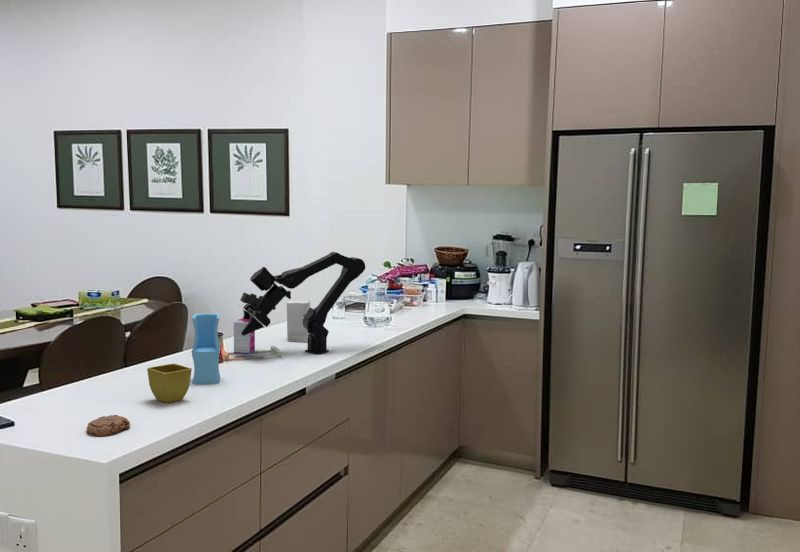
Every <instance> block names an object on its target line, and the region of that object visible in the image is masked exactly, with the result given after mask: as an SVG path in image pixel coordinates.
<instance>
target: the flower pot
mask: <svg viewBox="0 0 800 552" xmlns="http://www.w3.org/2000/svg"><path fill="white" fill-rule="evenodd" d="M146 371H147V376H148V377H147V378H148V384H149V387H150V391H151V393H152V394H153V396H154V397H155V399H156V400H158V401H160V402H163V403H168V404H169V403H172V402H177V401H181V400H183V399H184V398H185V396H186V394H187V393H188V390H189V387H190V385H191V377H192V367H188V366H185V365H181V364H178V363H169V364H161V365H155V366H151V367H147V369H146Z"/></svg>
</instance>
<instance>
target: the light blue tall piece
mask: <svg viewBox="0 0 800 552" xmlns="http://www.w3.org/2000/svg"><path fill="white" fill-rule="evenodd" d="M220 316H221V314H220V313H195V314H193V316H192V317H191V320H192V325H193V329H194V341H193V345H192V346H193V347H192V350H191V356H192V361H193V368H194V369H193V371H194V372H193V373H194V374H193V378H192V384H194V385H210V384H211V385H216V384H219V383H220V381H221V375H220V367H219V363H220V362H219V361H220V355H219V354H220V349H221V344H220V340H219V336H218V335H219V334H218V329H219V327H218V326H219V321H220Z"/></svg>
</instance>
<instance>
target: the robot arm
mask: <svg viewBox="0 0 800 552" xmlns="http://www.w3.org/2000/svg"><path fill="white" fill-rule="evenodd" d="M334 265H338V266H341V267H342V268H341V272H340V274H339V276H338V278H337V279H336V281H335V282H334V283H333V285H332V286H331V287H330V289H329V290H328V291H327V292H326V294H325V295H324V297H323V298H322V299H321V301H320V302H319V304H318V305H317V306H316V307H315V308H312V307H310V308H309V309H308V311H307V313H306V314H305V315H303V317H304V318H303V321H302V322H303V326H304V328H305V329H307V331H308V333H309V334H308V342H307V349H304V352H305V353H306V352H307V353H311V354H315V355H320V354H323V353H324V354H325V353H328V352H330V349H327V343H328V341H327V338H328V335H329V332H330V331H329V330H328V329H327V328H326V327H325V326H324V325H325V323H326V320H327V317H328V313H329V312H330V311H331V309H333V307H334V305H335V304H336V303H337V301H338V300H339V298H340V297H341V295H342V294H344V292H345V290H346V289H347V287H348V286H349V285H350V284H351V283H352V282H353V281H355V280H356V279H357V278H359V277H360V276H361V275H362V274H363V273H364V272H365V270H366V263H365V261H364V260H363V259H362V258H359V257H358V258H357V257H353V256H352V257H348V256H346V255H342V254H341V253H339V252H335V251H331V252H329V253H328V254H326V255H324V256H322V257H320V258H318V259H316V260H314V261H312V262H310V263H308V264H305V265H303V266H301V267H298V268H293V269H288V270H286V271H283V272H281V274H277V275H273V274H272V273H271V272H270V271H269V270H268V268H267V267H265V266H262V267H261V268H260V269H259V270H257V271H256V272H254V273H253V274H252V275H251V277H250V278H249V282H251V283H253V284H254V285H255V286H256V288H258V289H259V290H260V291H261V292H263V291H265V293H264V294H263V295H259V296H258V295H256V294H254V293H247V292H243V293H242V294H241V298H240V300H239V301H240V302H241V303H244V304H245V305H244V306H243V307H242V308H243V310H242V311H243V316H242V318H241V319H250V321H249V323H248V324H247V326H246V327H245V329H244V330H243V331H242V333H241V334H242V335H243V336H244V335H246V334H249V333H251V332H253V331H255V332H256V331H257V330H260V329H262V328H265V327H266V328H267V327H269V325H270V324H271V319H270V318H269V316H268V315H269V314H270V313H271V312H272V311H275V310H276V307H277V305H278V304H279V303H280V302H281V301H282V300H283V299H284V298H285V297H286V298H287V299H288V300H291V299H292V296H291V294H292V291H291V290H292V289H295V288H297V287H299V286H300V285H301V284H302V283H304V282H305V281H306V279H308V278H309V277H312V276H313V275H315V274H318V273H320V272H322V271H324V270H326V269H328V268H330V267H332V266H334ZM276 283H277V284H276ZM278 284H279V285H280V286H278ZM284 287H285V288H287V289H290V290H287V289H285V288H284Z"/></svg>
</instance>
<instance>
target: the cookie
mask: <svg viewBox="0 0 800 552" xmlns="http://www.w3.org/2000/svg"><path fill="white" fill-rule="evenodd" d="M129 428H131V422H130V420H128V418H127V417H125V416H121V415H118V414H114V415H112V414H110V415H108V416H105V415H104V416H100V417H98V418H96V419H94V420H91V421H90V422H88V423H87V427H86V434H87V435H88V434H89V436H90V437H98V438H99V437H106V436H110V435H114V434H117V433H120V432H121V431H122V430H124V429H125V430H126V429H127V430H128V429H129Z"/></svg>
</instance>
